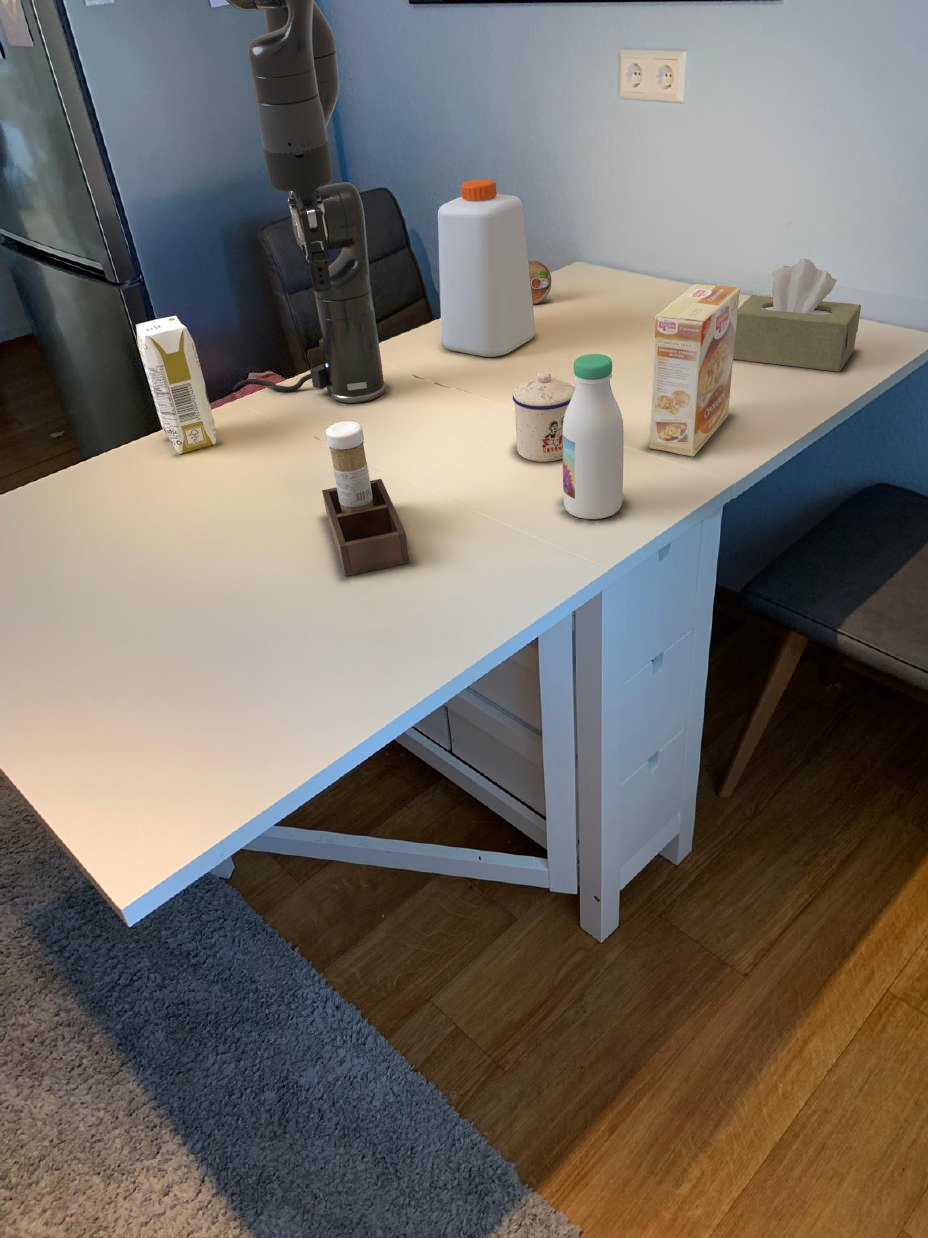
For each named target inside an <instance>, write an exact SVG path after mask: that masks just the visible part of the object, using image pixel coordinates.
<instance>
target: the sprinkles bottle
mask: <svg viewBox="0 0 928 1238" xmlns="http://www.w3.org/2000/svg"><path fill="white" fill-rule="evenodd" d="M325 436H326V443H327V446H328V449H329V450H330V451H329V452H330V456H331V461H332V469H333V475H334V480H335V481H334V482H335V485H336V486H335V487H337V492H338V497H339V502H340V505H341V510H342V513H346V512H351V511H356V510H361V509H365V508H370V507H374V506H373V499H372V498H373V497H372V490H371V484H370V481H371V478H370V472H369V466H368V462H367V458H366V457H367V456H366V452H365V446H364V443H365V441H364V440H365V437H364V430H363V426H362V425H361V424H360V423H359V422H356V421H349V420H347V421H339V422H336V423H333V424H331V425H330V426H328V427H327V429H326V430H325Z"/></svg>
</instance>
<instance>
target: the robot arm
mask: <svg viewBox="0 0 928 1238" xmlns="http://www.w3.org/2000/svg"><path fill="white" fill-rule="evenodd" d="M225 1H226V2H227V3H228V4H229V5H230V6H232V7H233V8H235V9H237V10H240V11H258V10H263V15H264V23H265V31H266V33H263V34H261V35H258V36H257V37H255V38H253V39H252V40H251V41H250V42H249V44H248V47H247V57H248V63H249V69H250V74H251V79H252V85H253V89H254V95H255V100H256V105H257V106H256V108H257V119H258V120H257V121H258V128H259V133H260V138H261V143H262V149H263V154H264V159H265V164H266V165H265V166H266V169H267V175H268V180H269V184H270V186H271V187H272V188H273V189H275V190H277V191H280V192H285V193H288V198H287V203H288V207H289V212H290V218H291V225H292V229H293V235H294V237H295V240H296V243H297V245H298V247H299V248H300V250H301V251H302V255H303V260H304V264H305V266H306V267H309V272H310V277H311V278H310V279H311V284H312V289H313V293H314V298H315V303H316V309H317V311H316V312H317V315H318V321H319V328H320V333H321V338H320V339H319V341H318V345H319V351H320V356H321V360H322V363H321V364H319V365H317V366H315V367H313V368H311V369H309V372H310V373H308V374H306V375H304V376H302V377H300V379H299V380H298V381H297V382H296V383H295V384H293V385H288V386H287V385H286V386H285V385H277V384H276V383H275V382H273V381H268V380H262V379H255V378H247V379H243V380H240V381H239V382H237V383H236V384H235V385H234V387H233V388H232V390H233V391H239V390H240V389H241V388H242V387H244V386H246V385H258V386H264V387H270V388H272V389H273V390H275V391H278V392H295V391H297V390H299V389H300V388H301V387H302V386H303V385H304V384H305V382H307V381H309V380H311V382H312V388H315V389H318V390H323V389H327V393H328V394H329V395H331V398H332V399H333V400H335V401H337V402H339V403H345V404H357V403H363V402H368V401H371V400H374V399H377V398H379V397H380V396H382V395H384V393H385V392H386V383H385V379H384V371H383V364H382V357H381V349H380V348H381V347H380V342H379V334H378V328H377V321H376V313H375V307H374V299H373V292H372V291H373V290H372V283H371V271H370V269H371V268H370V261H369V254H368V242H367V230H366V219H365V217H366V216H365V210H364V205H363V201H362V198H361V195H360V192H359V191H358V189H357V187H356V186H355V185H354V184H353V183H351V182H348V181H346V182H337V183H332V184H331V183H330V182H331V181H332V180H333V177H334V173H333V166H332V160H331V159H332V158H331V152H330V146H329V138H328V131H327V127H328V125H329V122H330V120H331V118H332V115H333V113H334V110H335V107H336V104H337V102H338V98H339V93H340V86H341V85H340V75H339V63H338V56H337V55H338V54H337V47H336V46H337V45H336V38H335V35H334V32H333V29H332V27H331V25H330V24H329V22H328V20H327V17H326V16H325V15H324V13H323V12H322V10H321V8H320V7H319V5H318V4H317V2H316V1H315V0H225ZM329 183H330V184H329ZM334 250H341V251H340V254H339V255H338V256H337V258H336V259H335V260H334V261H333V262H331V264H328V261H330V258H331V253H330V251H334Z"/></svg>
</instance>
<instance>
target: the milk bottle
mask: <svg viewBox="0 0 928 1238" xmlns="http://www.w3.org/2000/svg"><path fill="white" fill-rule="evenodd" d="M612 373H613V360H612V358H611V357H610V356H608V355H606V354H601V353H589V354H583V355H580V356H578V357H576V359H574V361H573V379H574V381H575V386H574V388H575V390H574V393H573V396H572V399H571V401H570V403H569V405H568V407H567V410H566V413H565V416H564V421H563V437H562V451H563V459H562V498H563V506H564V509H565V510H566V512H567V513H569V514H570V515H571V516H574V517H576V518H580V519H586V520H598V519H599V520H600V519H606V518H608V517H611V516H613V515H615V514H616V513H618V512H619V511H620V509H621V507H622V505H623V495H624V452H625V451H624V446H625V445H624V444H625V443H624V440H625V438H624V437H625V435H624V419H623V415H622V411H621V408H620V405H619V403H618V401H617V399H616V398H615V395H614V393H613V389H612V385H611V379H612V378H613V374H612Z"/></svg>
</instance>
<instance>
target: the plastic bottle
mask: <svg viewBox="0 0 928 1238" xmlns="http://www.w3.org/2000/svg"><path fill="white" fill-rule="evenodd" d="M460 193H461V196H459V197H457V198H455V199H452V200H450V201H448V202H446V203H443V204H442V205H441V206H440V207H439V208H438V211H437V229H438V230H437V232H438V233H437V236H438V269H439V272H438V273H439V302H440V303H439V305H440V308H439V309H440V334H441V335H440V339H441V344H442V346H443V347H444V348H445V349H447V350H448V351H452V352H457V353H463V354H468V355H473V356H474V355H475V356H480V357H487V358H493V357H500V356H501V357H502V356H505V355H507V354H509V353H511V352H513V351H514V350H516V349H518V348H519V347H521V346H522V345H524V344H525V343H527V342H529V341H530V340H532V339H533V338H534V336H535V334H536V323H535V322H536V321H535V313H534V304H533V302H532V293H531V284H530V274H529V265H528V261H529V257H528V256H529V255H528V247H527V237H526V228H525V227H526V226H525V219H524V210H523V203H522V200H521V199H520V198H519V197H518V196H515V195H513V194H512V195H511V194H503V193H497V183H496V181H495V180H493V179H489V178H488V179H487V178H479V179H478V178H477V179H471V180H467V181H464V182H462V184H461V185H460Z"/></svg>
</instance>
